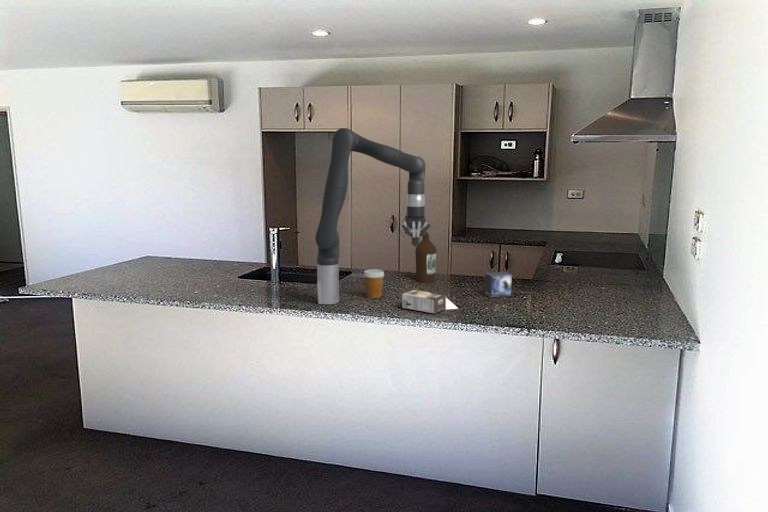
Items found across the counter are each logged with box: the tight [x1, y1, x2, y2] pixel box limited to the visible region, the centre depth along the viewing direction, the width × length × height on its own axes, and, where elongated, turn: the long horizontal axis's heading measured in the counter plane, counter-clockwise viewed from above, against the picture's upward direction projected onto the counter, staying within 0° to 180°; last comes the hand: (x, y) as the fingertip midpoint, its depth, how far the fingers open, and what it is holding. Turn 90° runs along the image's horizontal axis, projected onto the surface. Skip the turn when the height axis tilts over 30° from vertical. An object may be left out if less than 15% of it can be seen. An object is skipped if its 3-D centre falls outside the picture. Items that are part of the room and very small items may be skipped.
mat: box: [445, 297, 459, 310], centre depth 252 cm, size 16×18×1 cm
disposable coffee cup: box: [363, 268, 385, 299], centre depth 263 cm, size 10×10×12 cm
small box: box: [484, 271, 513, 299], centre depth 265 cm, size 11×6×10 cm, turn 105°
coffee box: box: [401, 289, 447, 314], centre depth 242 cm, size 9×6×16 cm
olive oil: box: [414, 231, 437, 284], centre depth 294 cm, size 11×11×25 cm
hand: (415, 245), depth 246 cm, fingers closed
